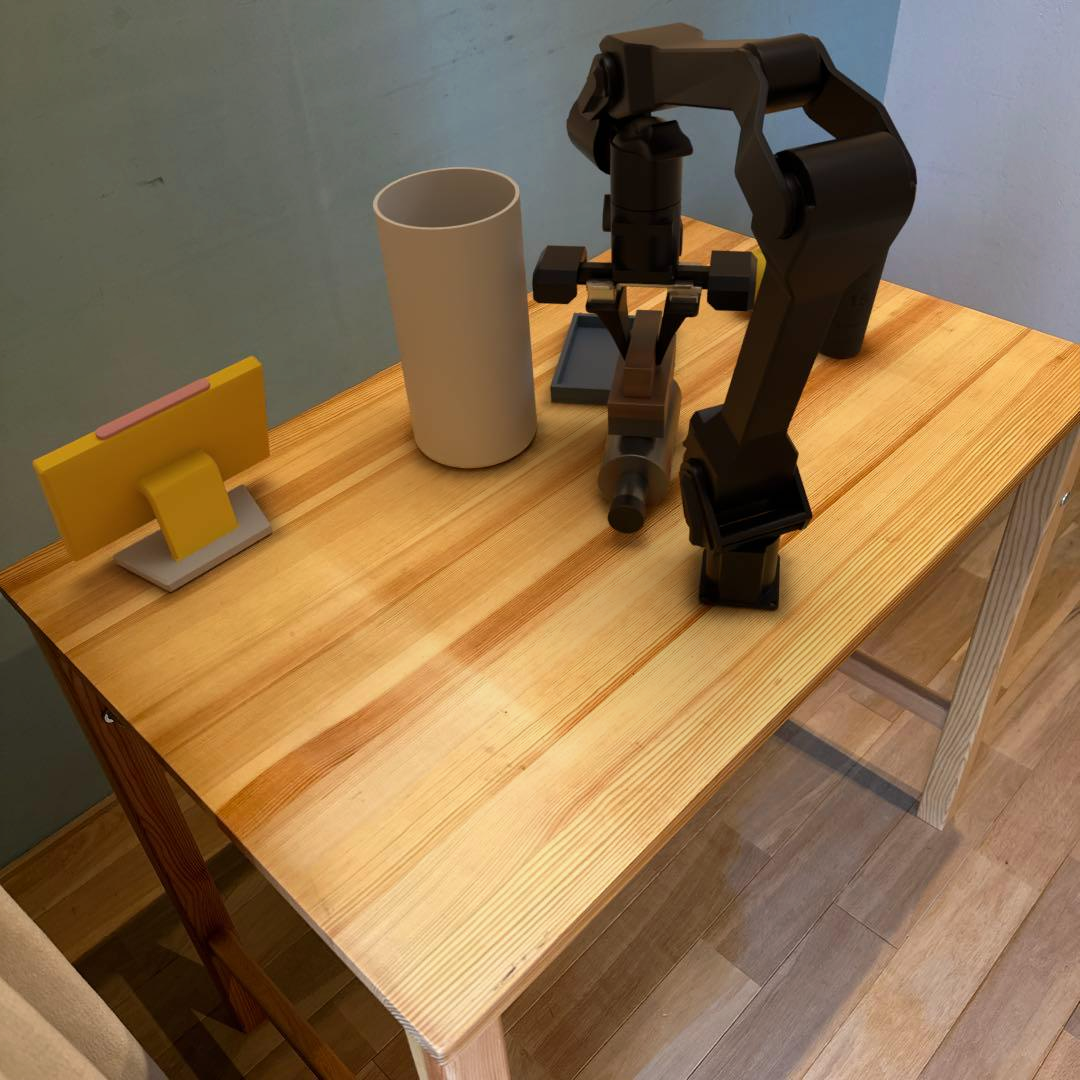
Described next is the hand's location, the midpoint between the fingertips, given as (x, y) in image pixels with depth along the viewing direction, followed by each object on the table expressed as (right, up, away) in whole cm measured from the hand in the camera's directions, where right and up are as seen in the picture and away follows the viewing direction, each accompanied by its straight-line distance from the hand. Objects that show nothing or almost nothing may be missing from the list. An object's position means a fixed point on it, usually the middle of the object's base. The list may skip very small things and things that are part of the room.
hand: (643, 362), depth 92 cm
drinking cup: (+23, +5, +19) cm, 30 cm away
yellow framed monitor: (-41, -17, +1) cm, 44 cm away
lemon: (+16, +10, +25) cm, 32 cm away
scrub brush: (0, -3, +2) cm, 4 cm away
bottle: (0, -11, +4) cm, 11 cm away
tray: (-1, +3, +19) cm, 19 cm away
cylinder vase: (-16, -6, +11) cm, 20 cm away
